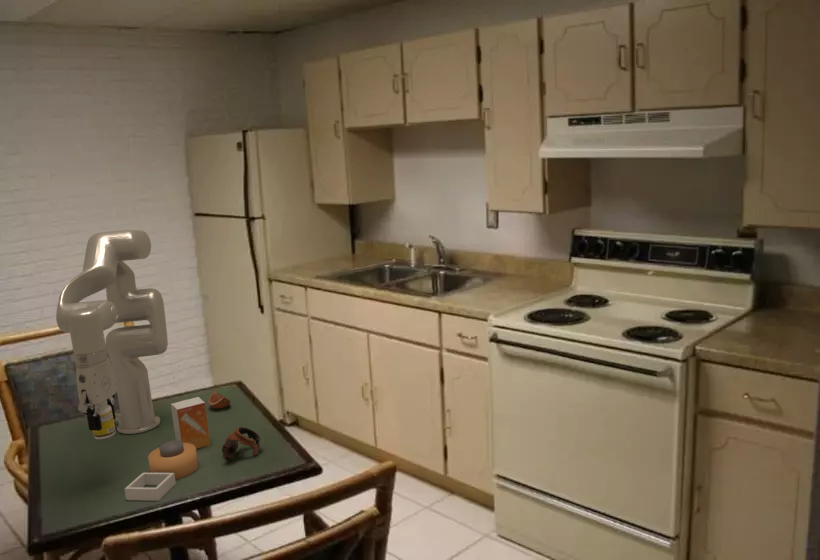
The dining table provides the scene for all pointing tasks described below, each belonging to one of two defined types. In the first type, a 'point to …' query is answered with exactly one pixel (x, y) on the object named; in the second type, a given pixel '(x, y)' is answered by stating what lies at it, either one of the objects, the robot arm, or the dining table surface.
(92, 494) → the dining table surface
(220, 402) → the fruit slice
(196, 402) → the small box
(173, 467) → the disc and frame
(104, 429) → the supplement bottle
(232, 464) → the dining table surface
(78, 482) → the dining table surface
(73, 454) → the dining table surface
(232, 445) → the brown curved piece
